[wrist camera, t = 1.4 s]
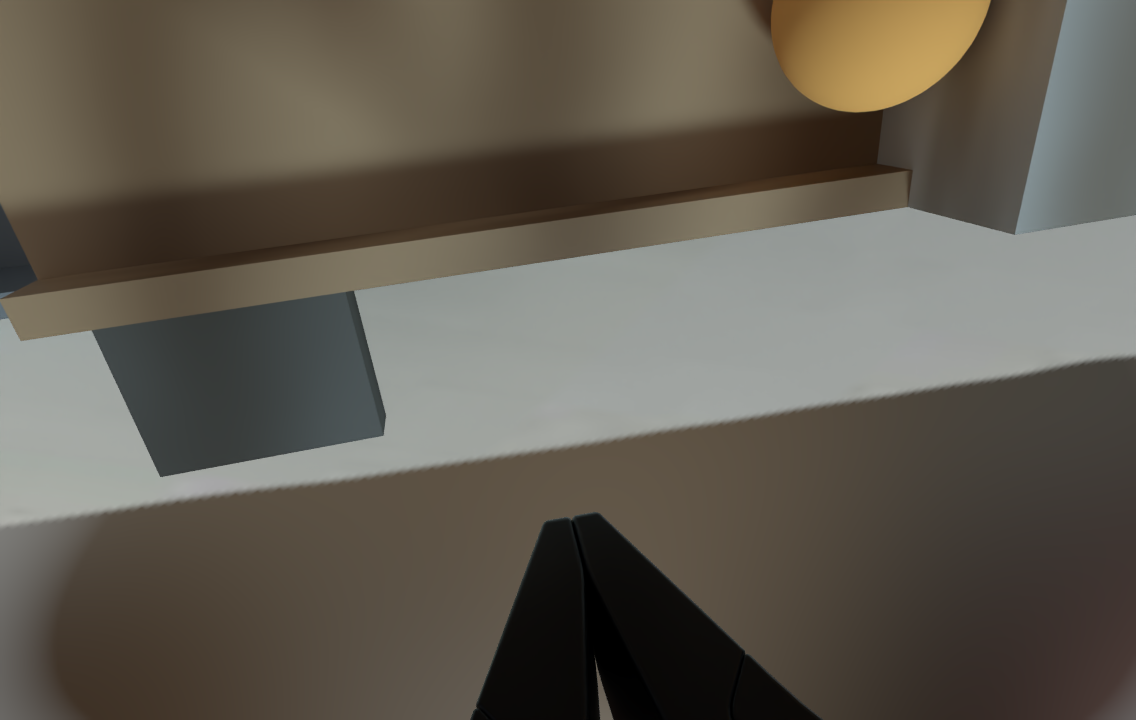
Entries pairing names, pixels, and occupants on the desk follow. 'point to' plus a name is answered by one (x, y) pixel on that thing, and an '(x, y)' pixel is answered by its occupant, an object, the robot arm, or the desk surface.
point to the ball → (871, 47)
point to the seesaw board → (468, 169)
